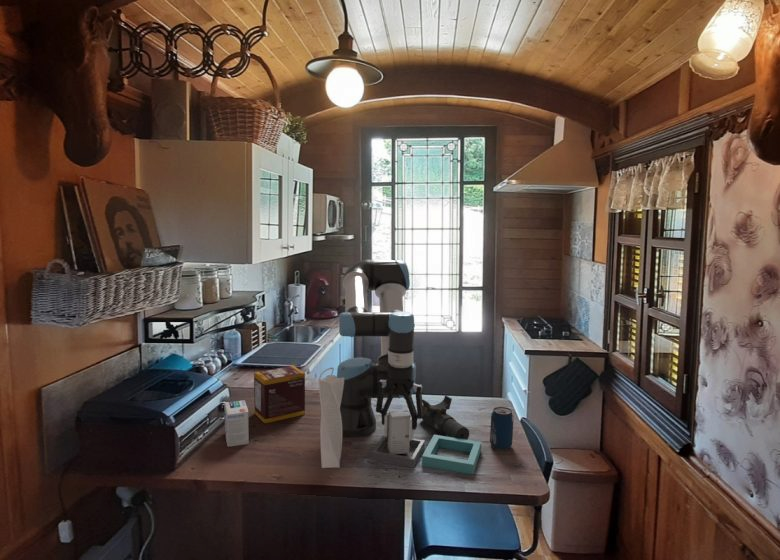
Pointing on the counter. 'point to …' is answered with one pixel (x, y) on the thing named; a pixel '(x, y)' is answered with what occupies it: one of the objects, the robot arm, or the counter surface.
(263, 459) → the counter surface
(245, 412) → the light bulb box
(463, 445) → the teal square frame
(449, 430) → the laser sight
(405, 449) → the skincare box
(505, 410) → the soda can
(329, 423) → the skyscraper
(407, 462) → the gray picture frame
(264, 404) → the supplement box
